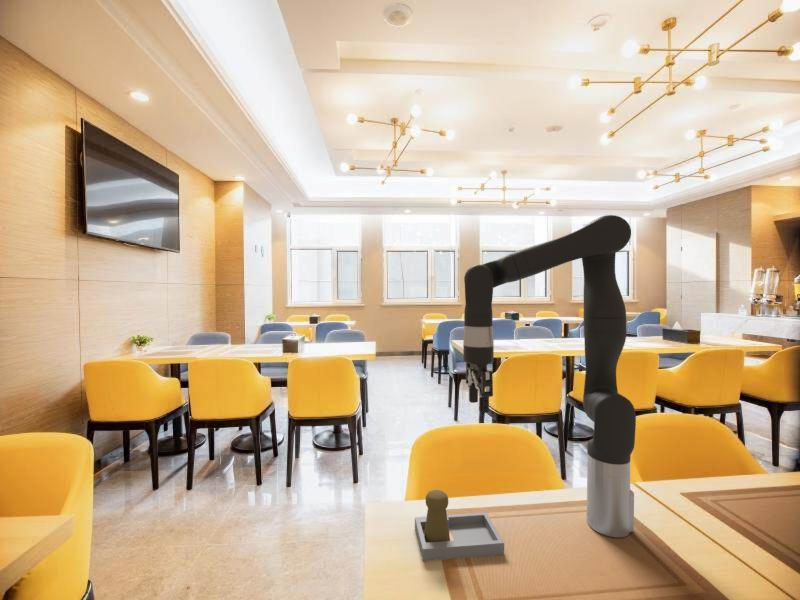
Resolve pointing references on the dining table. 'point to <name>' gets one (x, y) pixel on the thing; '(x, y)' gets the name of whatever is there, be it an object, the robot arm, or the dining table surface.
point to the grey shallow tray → (462, 538)
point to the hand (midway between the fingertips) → (478, 406)
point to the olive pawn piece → (436, 517)
